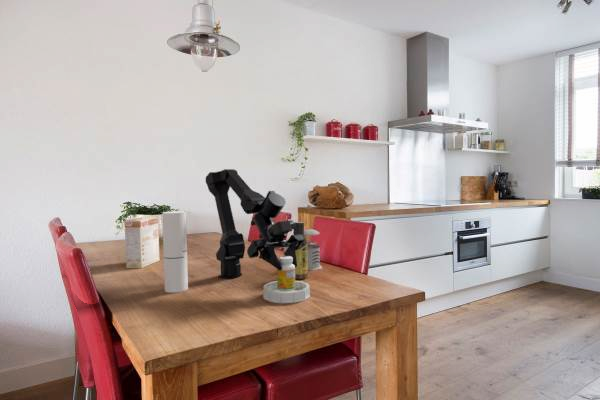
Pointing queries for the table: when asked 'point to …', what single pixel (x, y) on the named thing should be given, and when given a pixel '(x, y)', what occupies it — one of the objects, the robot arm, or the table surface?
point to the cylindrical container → (175, 251)
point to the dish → (286, 293)
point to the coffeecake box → (141, 242)
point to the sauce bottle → (301, 253)
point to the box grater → (312, 248)
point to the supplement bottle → (286, 274)
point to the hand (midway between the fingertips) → (288, 268)
